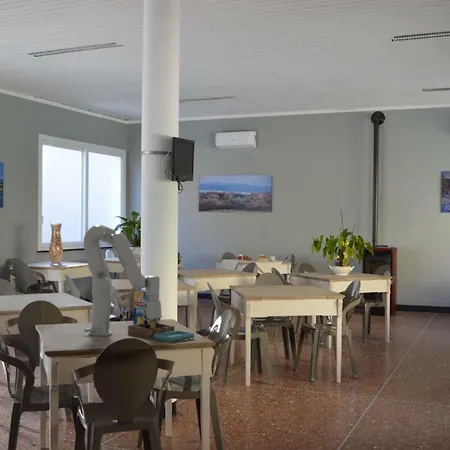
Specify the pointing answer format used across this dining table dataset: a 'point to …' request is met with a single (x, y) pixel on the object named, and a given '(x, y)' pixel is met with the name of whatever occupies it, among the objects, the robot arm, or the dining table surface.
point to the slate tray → (173, 336)
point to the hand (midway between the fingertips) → (151, 330)
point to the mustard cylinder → (152, 324)
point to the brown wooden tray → (148, 330)
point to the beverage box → (139, 305)
